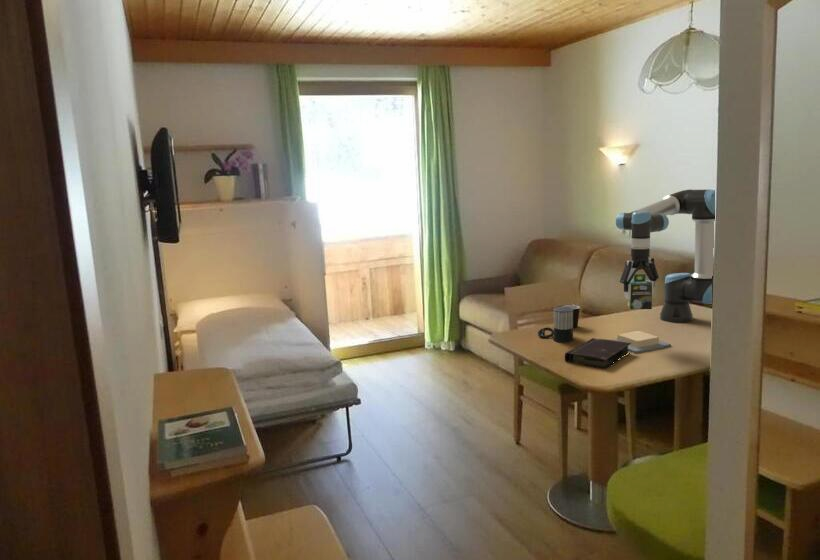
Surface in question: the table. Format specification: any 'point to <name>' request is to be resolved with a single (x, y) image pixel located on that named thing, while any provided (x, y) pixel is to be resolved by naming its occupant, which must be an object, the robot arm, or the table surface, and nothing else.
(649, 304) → the chalk box
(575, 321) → the coffee mug
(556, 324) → the milk frother
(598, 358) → the diary
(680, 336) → the table surface
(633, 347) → the board
